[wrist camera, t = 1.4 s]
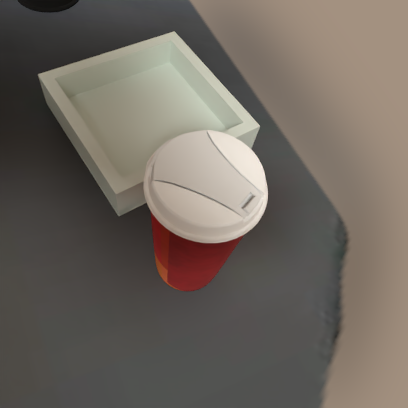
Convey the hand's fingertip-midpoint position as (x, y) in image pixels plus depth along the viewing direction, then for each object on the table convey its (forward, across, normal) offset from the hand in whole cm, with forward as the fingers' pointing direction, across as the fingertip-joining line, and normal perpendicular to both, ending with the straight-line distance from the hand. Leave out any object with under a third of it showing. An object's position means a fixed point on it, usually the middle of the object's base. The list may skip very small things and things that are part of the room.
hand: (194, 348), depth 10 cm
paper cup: (+24, -1, -8) cm, 25 cm away
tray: (+33, -8, +3) cm, 34 cm away
